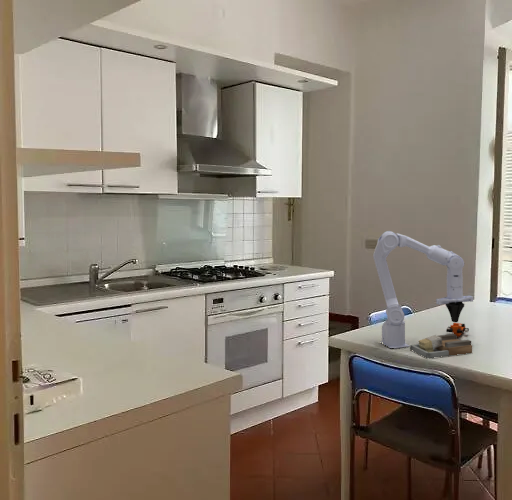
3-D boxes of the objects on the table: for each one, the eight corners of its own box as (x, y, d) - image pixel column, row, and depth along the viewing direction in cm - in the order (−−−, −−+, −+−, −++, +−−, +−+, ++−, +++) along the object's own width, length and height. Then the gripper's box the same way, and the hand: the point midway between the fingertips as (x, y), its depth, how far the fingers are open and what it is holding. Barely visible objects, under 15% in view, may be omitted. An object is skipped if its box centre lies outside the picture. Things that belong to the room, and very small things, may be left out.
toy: (443, 324, 222) (451, 316, 234) (443, 339, 222) (451, 330, 235) (464, 326, 218) (471, 317, 230) (464, 341, 218) (471, 332, 231)
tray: (410, 350, 209) (410, 344, 208) (430, 347, 211) (430, 342, 211) (427, 359, 197) (427, 353, 197) (448, 356, 199) (448, 350, 199)
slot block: (430, 347, 211) (430, 336, 210) (452, 345, 213) (452, 333, 213) (448, 356, 199) (448, 344, 199) (472, 353, 201) (472, 341, 201)
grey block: (427, 345, 206) (425, 338, 205) (436, 342, 206) (435, 335, 206) (433, 348, 202) (431, 340, 201) (442, 345, 203) (441, 337, 202)
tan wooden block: (427, 348, 206) (420, 350, 205) (425, 338, 205) (418, 340, 205) (433, 351, 202) (426, 353, 201) (431, 341, 201) (424, 343, 201)
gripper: (443, 289, 204) (443, 325, 205) (478, 286, 207) (478, 322, 209) (432, 286, 210) (433, 321, 212) (466, 283, 214) (466, 318, 215)
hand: (454, 321), depth 211 cm, fingers closed
